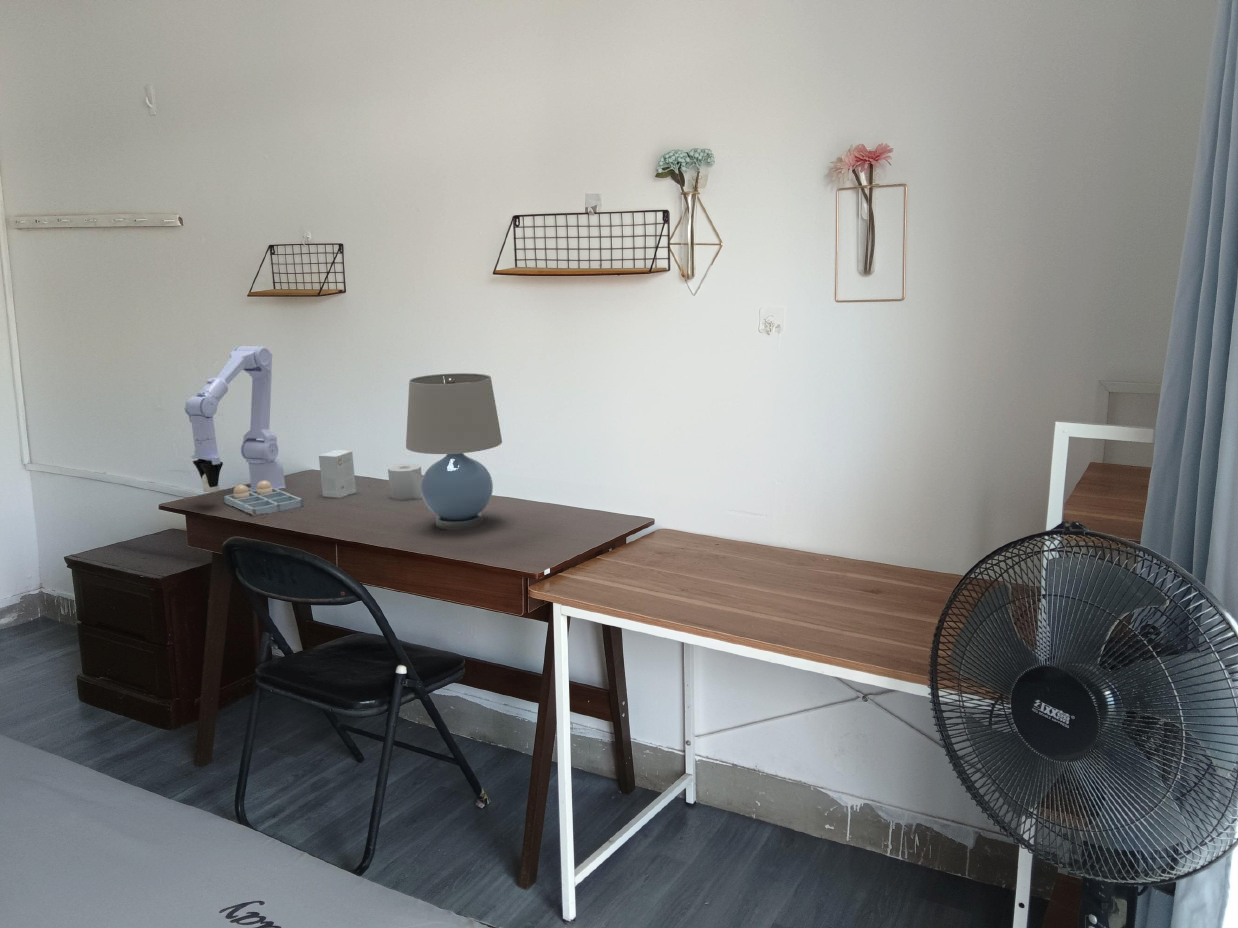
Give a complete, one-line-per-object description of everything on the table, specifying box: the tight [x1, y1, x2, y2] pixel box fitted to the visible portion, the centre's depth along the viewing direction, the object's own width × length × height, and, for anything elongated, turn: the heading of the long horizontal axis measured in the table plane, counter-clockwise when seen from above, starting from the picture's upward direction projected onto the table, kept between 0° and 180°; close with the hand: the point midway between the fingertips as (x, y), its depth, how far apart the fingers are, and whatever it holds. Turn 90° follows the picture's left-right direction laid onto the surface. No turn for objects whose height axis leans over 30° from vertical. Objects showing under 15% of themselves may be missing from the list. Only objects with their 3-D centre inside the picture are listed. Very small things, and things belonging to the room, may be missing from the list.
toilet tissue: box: [387, 463, 424, 501], centre depth 277 cm, size 9×13×9 cm
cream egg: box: [201, 474, 220, 493], centre depth 267 cm, size 4×4×5 cm
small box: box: [318, 449, 357, 499], centre depth 278 cm, size 8×6×13 cm
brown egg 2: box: [257, 480, 272, 495], centre depth 276 cm, size 4×4×5 cm
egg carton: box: [223, 487, 305, 514], centre depth 269 cm, size 14×21×2 cm
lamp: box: [405, 372, 503, 531], centre depth 243 cm, size 25×25×39 cm
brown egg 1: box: [232, 484, 250, 500], centre depth 271 cm, size 4×4×5 cm
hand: (210, 485), depth 267 cm, fingers closed on cream egg, 4 cm apart
